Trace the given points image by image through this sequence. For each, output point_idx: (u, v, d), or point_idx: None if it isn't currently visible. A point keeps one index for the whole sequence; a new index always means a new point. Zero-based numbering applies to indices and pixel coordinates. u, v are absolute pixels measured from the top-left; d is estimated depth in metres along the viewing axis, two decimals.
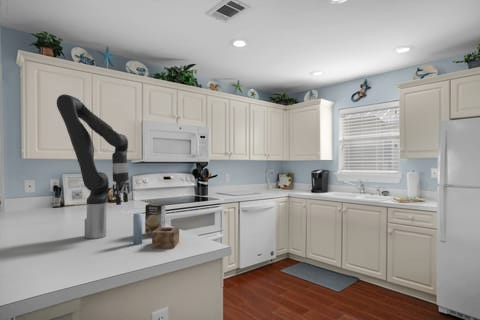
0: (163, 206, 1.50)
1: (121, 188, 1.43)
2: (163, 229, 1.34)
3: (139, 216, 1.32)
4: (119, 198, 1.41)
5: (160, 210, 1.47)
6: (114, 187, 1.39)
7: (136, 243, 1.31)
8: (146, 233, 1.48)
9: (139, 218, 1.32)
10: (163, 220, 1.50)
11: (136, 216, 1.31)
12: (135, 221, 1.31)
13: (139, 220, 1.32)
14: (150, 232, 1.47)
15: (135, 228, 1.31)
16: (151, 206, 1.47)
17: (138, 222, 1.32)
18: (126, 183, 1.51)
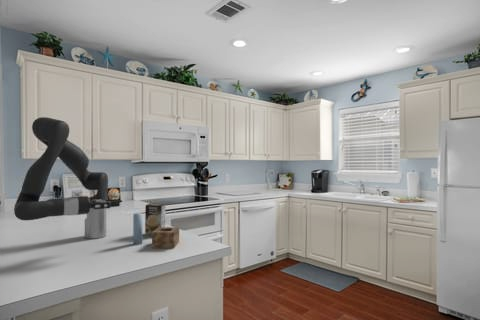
0: (163, 206, 1.50)
1: None
2: (163, 229, 1.34)
3: (139, 216, 1.32)
4: None
5: (160, 210, 1.47)
6: None
7: (136, 243, 1.31)
8: (146, 233, 1.48)
9: (139, 218, 1.32)
10: (163, 220, 1.50)
11: (136, 216, 1.31)
12: (135, 221, 1.31)
13: (139, 220, 1.32)
14: (150, 232, 1.47)
15: (135, 228, 1.31)
16: (151, 206, 1.47)
17: (138, 222, 1.32)
18: None
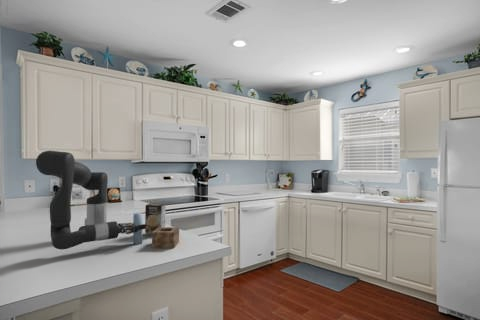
0: (163, 206, 1.50)
1: None
2: (163, 229, 1.34)
3: (139, 216, 1.32)
4: None
5: (160, 210, 1.47)
6: None
7: (136, 243, 1.31)
8: (146, 233, 1.48)
9: (139, 218, 1.32)
10: (163, 220, 1.50)
11: (136, 216, 1.32)
12: (135, 221, 1.31)
13: (139, 220, 1.32)
14: (150, 232, 1.47)
15: None
16: (151, 206, 1.47)
17: (138, 222, 1.32)
18: (126, 231, 1.25)
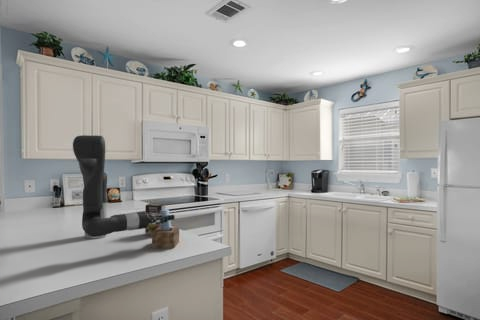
0: (163, 206, 1.50)
1: None
2: None
3: (166, 212, 1.30)
4: None
5: None
6: None
7: None
8: (146, 233, 1.48)
9: (166, 214, 1.30)
10: None
11: (163, 212, 1.29)
12: None
13: None
14: (150, 232, 1.47)
15: (163, 225, 1.29)
16: (151, 206, 1.47)
17: None
18: (156, 221, 1.22)
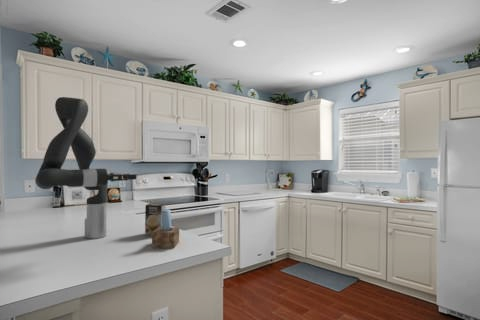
0: (163, 206, 1.50)
1: None
2: None
3: (167, 213, 1.29)
4: None
5: (160, 210, 1.47)
6: None
7: None
8: (146, 233, 1.48)
9: (167, 215, 1.29)
10: None
11: (164, 213, 1.29)
12: (163, 218, 1.29)
13: (167, 217, 1.29)
14: (150, 232, 1.47)
15: (163, 225, 1.29)
16: (151, 206, 1.47)
17: (167, 219, 1.29)
18: None
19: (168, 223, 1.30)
